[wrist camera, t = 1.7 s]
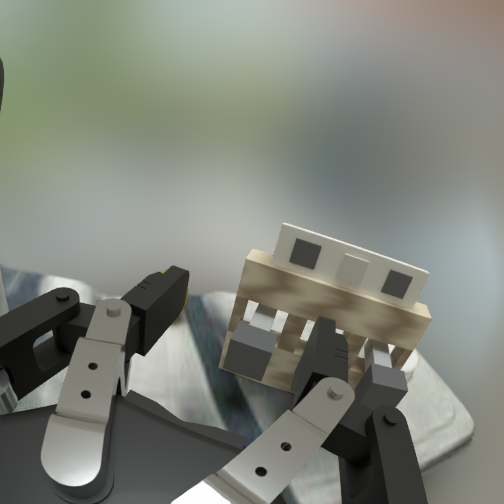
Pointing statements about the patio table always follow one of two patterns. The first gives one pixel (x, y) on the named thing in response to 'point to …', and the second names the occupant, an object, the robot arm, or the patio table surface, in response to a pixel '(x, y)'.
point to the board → (327, 305)
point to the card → (348, 266)
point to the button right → (380, 378)
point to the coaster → (408, 366)
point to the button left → (252, 344)
